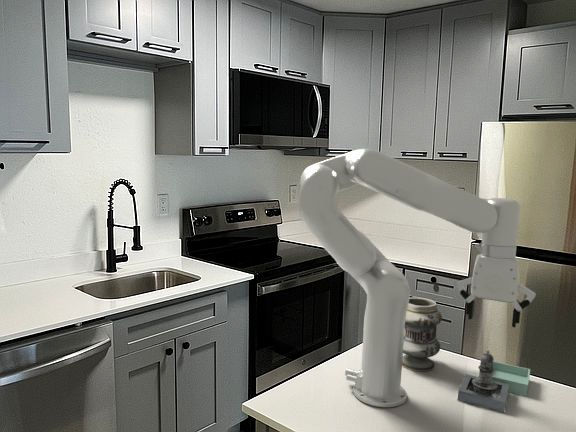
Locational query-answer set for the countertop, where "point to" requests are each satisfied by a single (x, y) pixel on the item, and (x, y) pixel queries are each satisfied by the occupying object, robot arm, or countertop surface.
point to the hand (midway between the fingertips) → (491, 321)
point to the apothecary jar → (420, 334)
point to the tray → (512, 377)
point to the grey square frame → (483, 395)
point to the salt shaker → (485, 376)
